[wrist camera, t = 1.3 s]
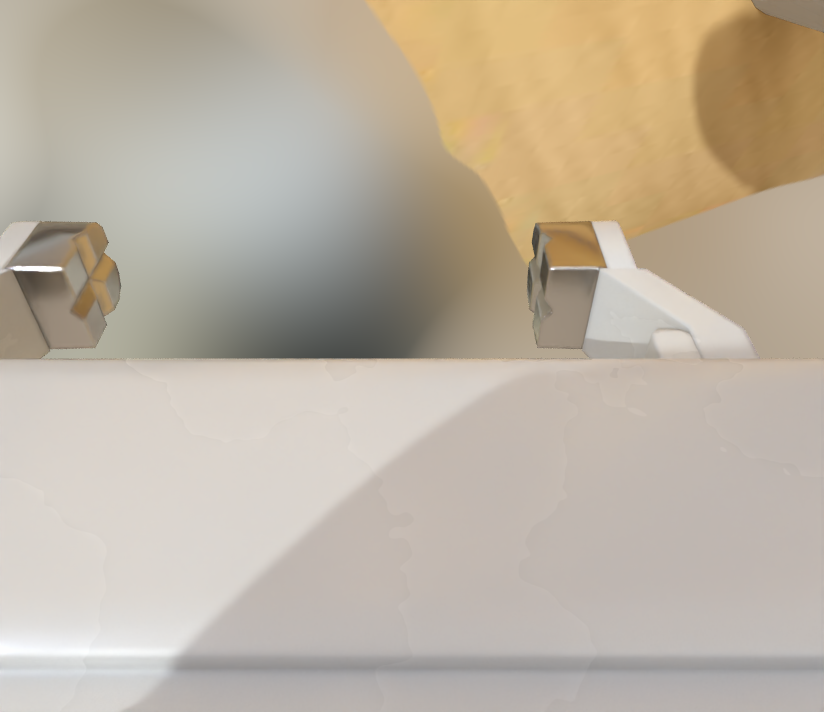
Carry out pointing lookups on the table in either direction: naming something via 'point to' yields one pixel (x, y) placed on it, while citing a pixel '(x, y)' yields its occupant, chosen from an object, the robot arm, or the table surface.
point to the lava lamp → (795, 11)
